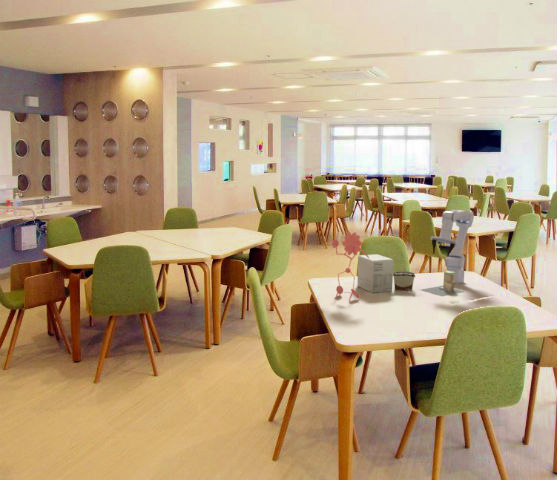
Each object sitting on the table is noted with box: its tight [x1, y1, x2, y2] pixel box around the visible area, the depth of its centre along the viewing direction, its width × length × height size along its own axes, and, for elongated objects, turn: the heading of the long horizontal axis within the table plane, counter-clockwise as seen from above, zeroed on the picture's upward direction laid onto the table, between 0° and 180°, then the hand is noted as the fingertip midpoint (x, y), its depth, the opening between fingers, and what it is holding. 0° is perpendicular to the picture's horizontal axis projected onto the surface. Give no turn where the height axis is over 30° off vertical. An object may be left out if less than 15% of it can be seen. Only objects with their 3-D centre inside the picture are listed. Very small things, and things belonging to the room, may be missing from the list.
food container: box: [393, 270, 416, 292], centre depth 331 cm, size 12×6×10 cm, turn 84°
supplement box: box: [356, 253, 394, 294], centre depth 332 cm, size 17×13×18 cm
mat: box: [420, 285, 465, 297], centre depth 326 cm, size 18×16×2 cm
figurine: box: [331, 231, 369, 304], centre depth 312 cm, size 15×26×35 cm, turn 43°
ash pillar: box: [442, 270, 455, 290], centre depth 327 cm, size 4×4×10 cm
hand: (440, 255), depth 324 cm, fingers open, 7 cm apart
